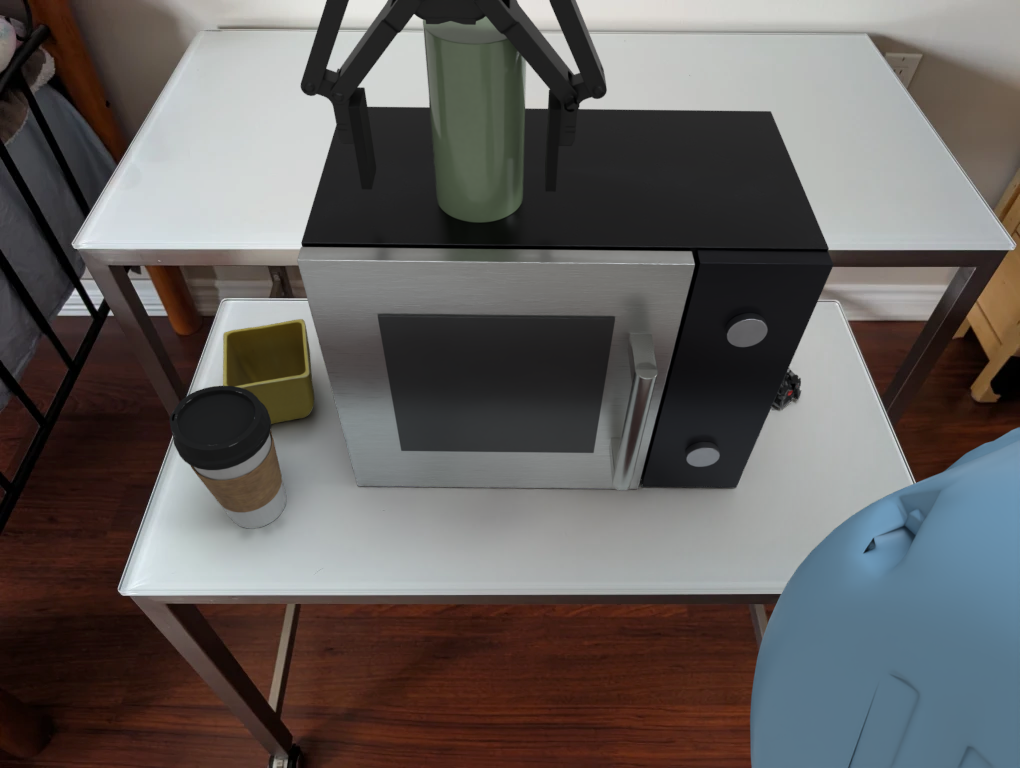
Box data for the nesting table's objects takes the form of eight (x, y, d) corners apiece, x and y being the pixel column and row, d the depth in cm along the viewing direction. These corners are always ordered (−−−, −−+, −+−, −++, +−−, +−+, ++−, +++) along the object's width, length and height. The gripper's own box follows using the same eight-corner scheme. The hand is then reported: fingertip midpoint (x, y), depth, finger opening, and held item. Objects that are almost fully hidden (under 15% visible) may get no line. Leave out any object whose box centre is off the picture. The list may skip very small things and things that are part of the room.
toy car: (779, 336, 94) (789, 312, 91) (806, 411, 86) (817, 388, 83) (731, 336, 94) (739, 313, 90) (754, 411, 86) (763, 388, 83)
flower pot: (245, 442, 82) (221, 390, 76) (244, 384, 88) (222, 330, 81) (325, 428, 84) (309, 375, 77) (319, 371, 89) (304, 317, 82)
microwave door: (643, 530, 75) (706, 310, 52) (350, 527, 75) (282, 306, 52) (636, 476, 80) (692, 250, 56) (359, 473, 80) (300, 246, 56)
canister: (525, 222, 58) (530, 43, 48) (435, 223, 58) (420, 44, 47) (521, 170, 63) (525, -3, 52) (437, 172, 63) (424, -2, 52)
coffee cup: (221, 473, 80) (175, 381, 68) (301, 466, 80) (269, 374, 69) (209, 543, 74) (157, 457, 63) (296, 535, 75) (259, 448, 64)
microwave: (737, 495, 78) (838, 269, 55) (356, 491, 78) (294, 263, 55) (702, 341, 93) (771, 110, 69) (382, 338, 93) (341, 106, 69)
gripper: (666, -177, 42) (621, 153, 59) (227, -182, 42) (302, 150, 58) (686, -136, 38) (630, 212, 54) (189, -142, 37) (283, 208, 54)
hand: (459, 180), depth 56 cm, fingers open, 13 cm apart
